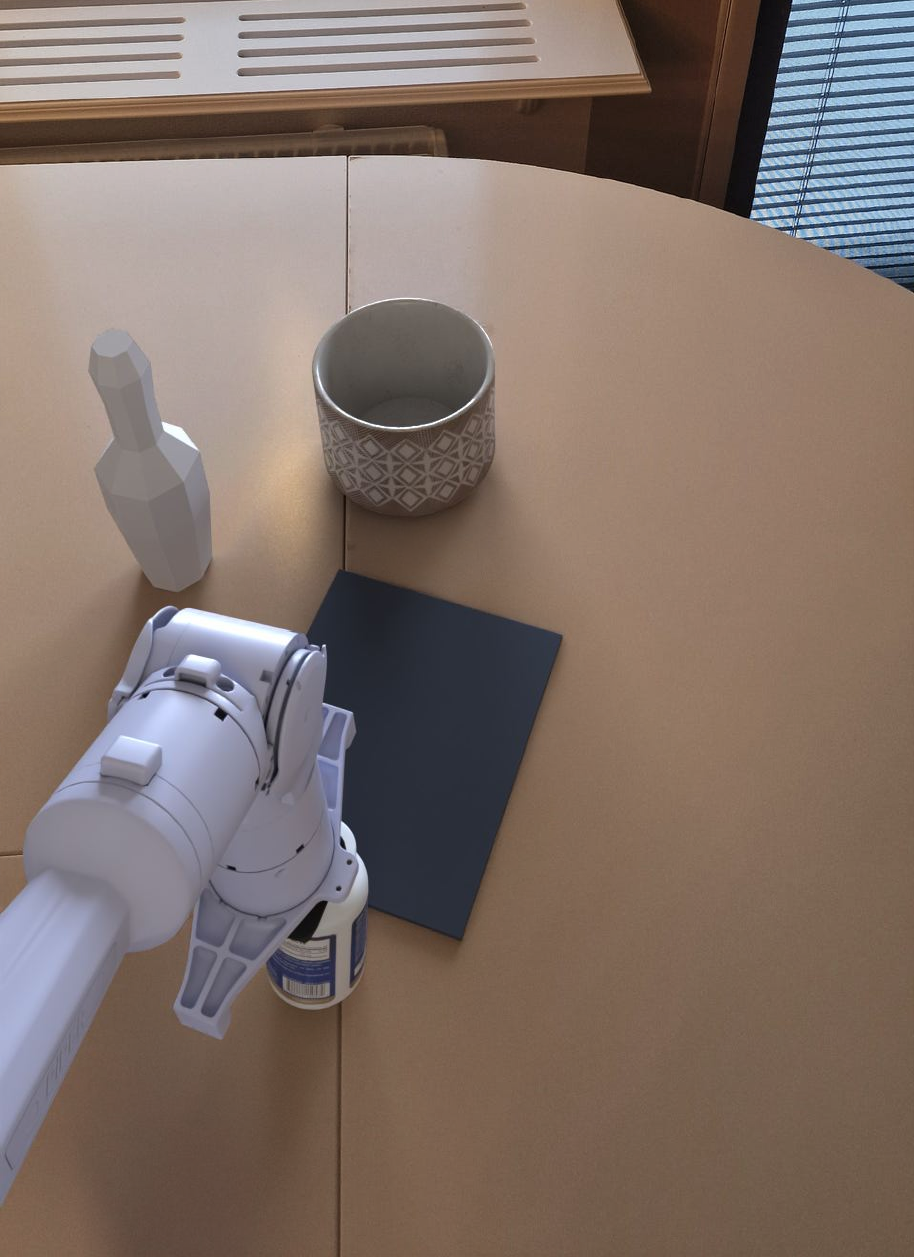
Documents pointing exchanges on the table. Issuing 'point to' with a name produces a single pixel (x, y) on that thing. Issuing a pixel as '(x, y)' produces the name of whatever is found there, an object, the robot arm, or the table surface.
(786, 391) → the table surface
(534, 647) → the mat
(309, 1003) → the pill bottle
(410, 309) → the planter
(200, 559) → the faceted bottle
